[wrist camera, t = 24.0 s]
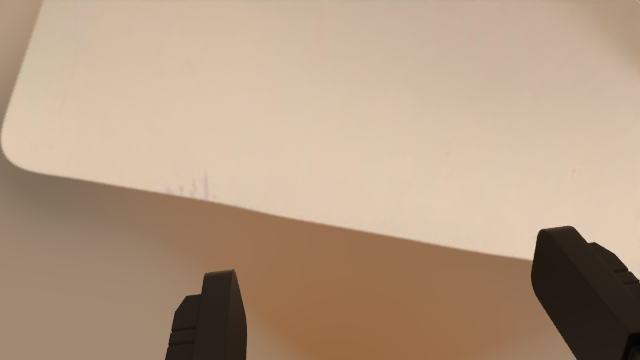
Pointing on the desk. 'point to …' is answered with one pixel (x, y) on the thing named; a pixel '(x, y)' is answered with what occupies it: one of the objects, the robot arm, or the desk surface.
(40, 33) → the desk surface
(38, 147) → the desk surface
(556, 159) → the desk surface
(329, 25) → the desk surface
